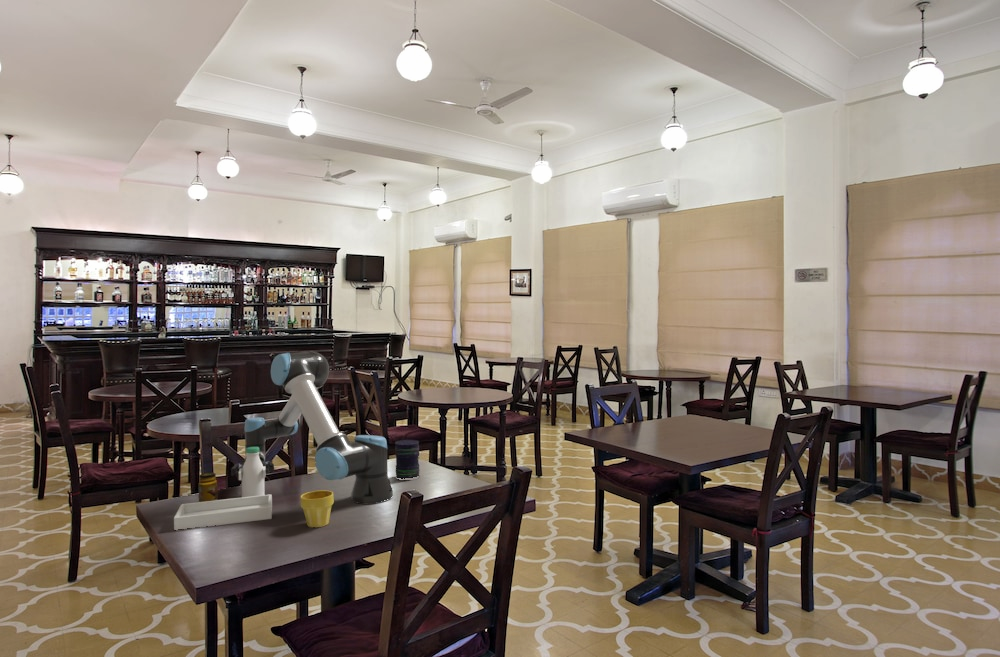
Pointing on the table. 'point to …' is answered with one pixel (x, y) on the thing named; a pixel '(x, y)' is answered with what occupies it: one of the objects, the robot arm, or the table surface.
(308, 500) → the plant pot
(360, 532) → the table surface
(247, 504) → the tray
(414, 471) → the storage jar
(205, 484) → the condiment
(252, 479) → the milk bottle
